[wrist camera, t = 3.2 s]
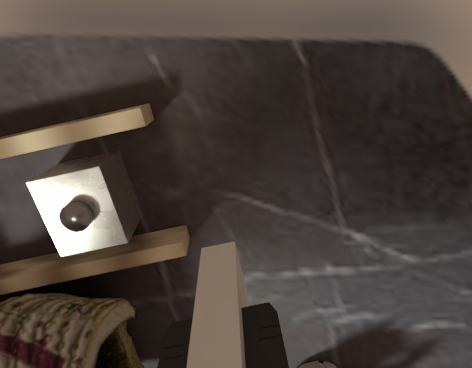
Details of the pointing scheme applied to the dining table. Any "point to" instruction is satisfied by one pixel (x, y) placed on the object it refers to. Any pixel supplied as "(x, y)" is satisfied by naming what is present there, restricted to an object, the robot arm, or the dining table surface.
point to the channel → (100, 260)
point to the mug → (317, 365)
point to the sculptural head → (66, 332)
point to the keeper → (87, 203)
